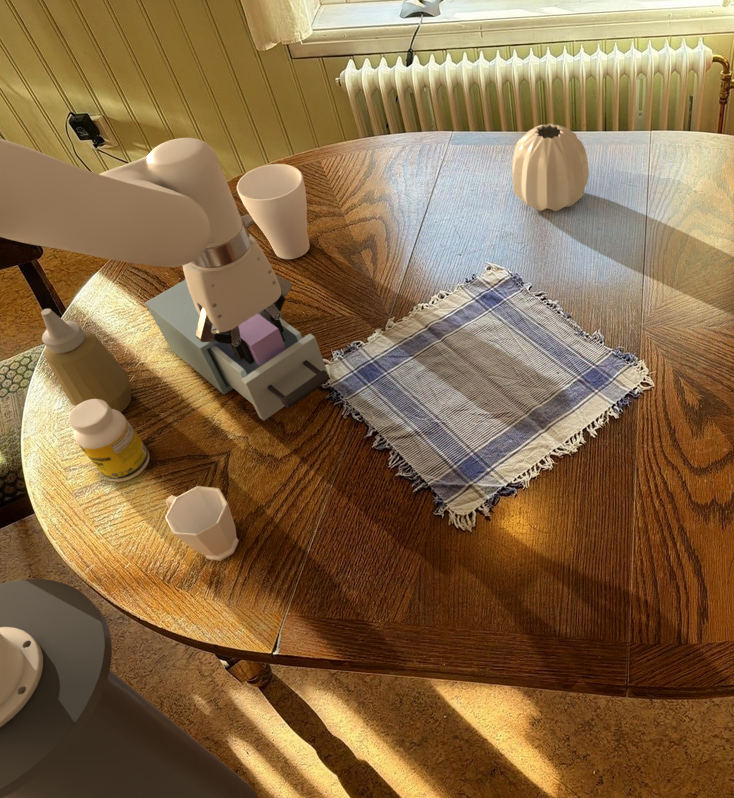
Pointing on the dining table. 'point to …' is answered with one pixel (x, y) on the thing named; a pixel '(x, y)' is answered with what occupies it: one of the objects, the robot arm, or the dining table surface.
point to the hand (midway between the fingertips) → (261, 347)
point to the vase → (549, 168)
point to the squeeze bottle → (84, 364)
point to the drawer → (274, 373)
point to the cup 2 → (278, 207)
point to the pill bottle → (108, 440)
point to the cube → (261, 339)
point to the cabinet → (185, 331)
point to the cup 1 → (203, 522)
